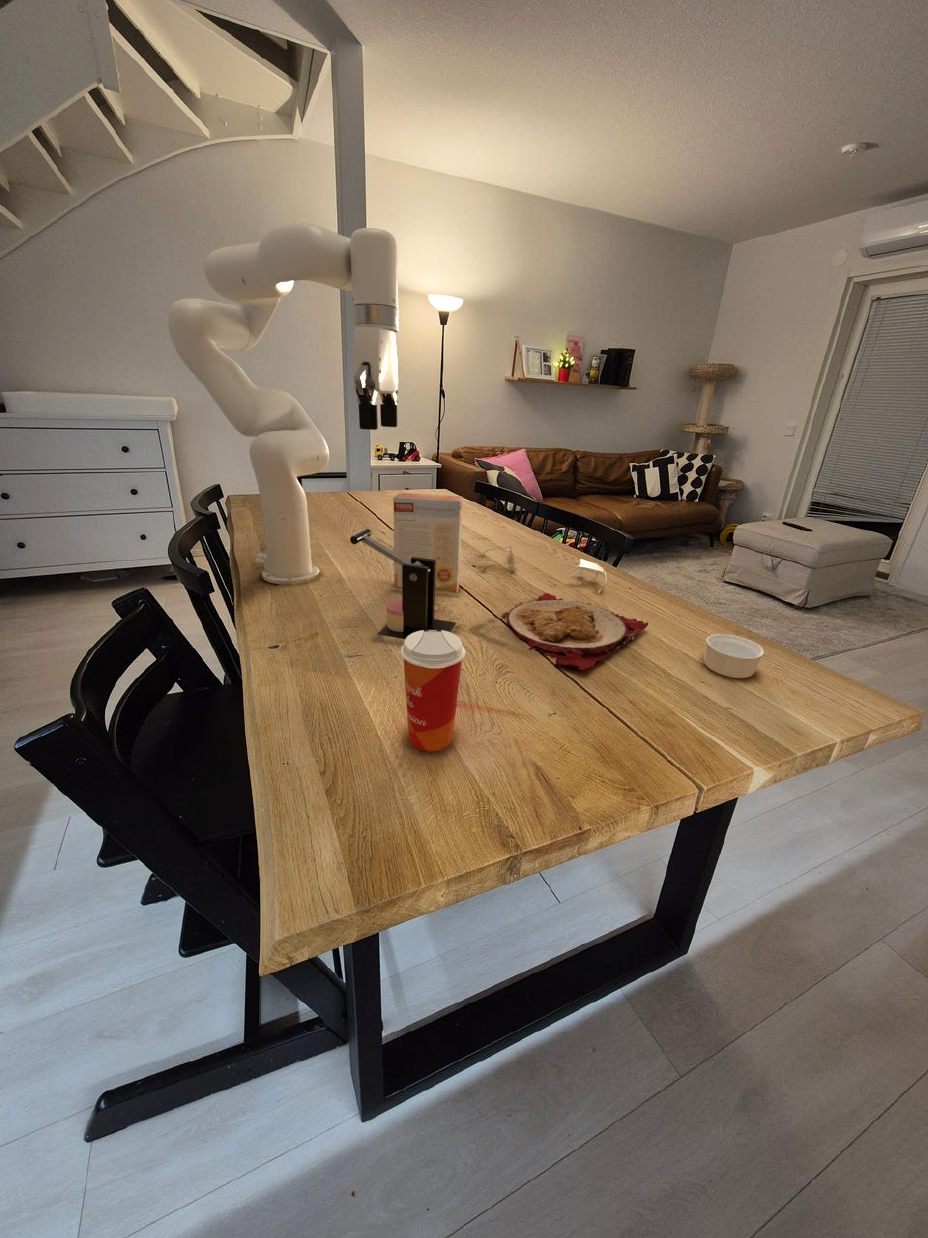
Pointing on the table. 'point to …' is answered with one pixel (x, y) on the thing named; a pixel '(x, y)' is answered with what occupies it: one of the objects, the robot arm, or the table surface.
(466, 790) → the table surface
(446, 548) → the cracker box
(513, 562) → the eyeglasses
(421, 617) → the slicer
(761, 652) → the ramekin
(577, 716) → the table surface
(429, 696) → the paper cup
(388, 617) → the cake
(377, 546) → the lever
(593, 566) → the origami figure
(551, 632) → the plate with food
